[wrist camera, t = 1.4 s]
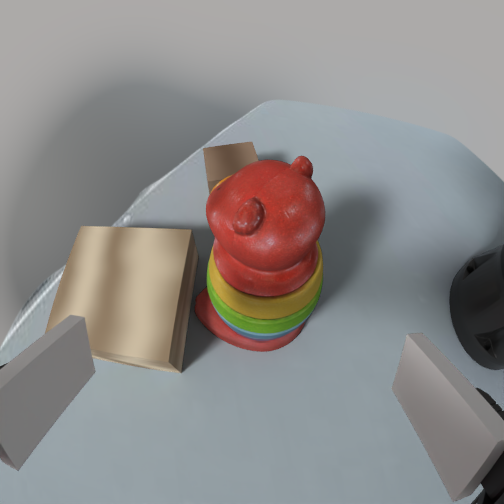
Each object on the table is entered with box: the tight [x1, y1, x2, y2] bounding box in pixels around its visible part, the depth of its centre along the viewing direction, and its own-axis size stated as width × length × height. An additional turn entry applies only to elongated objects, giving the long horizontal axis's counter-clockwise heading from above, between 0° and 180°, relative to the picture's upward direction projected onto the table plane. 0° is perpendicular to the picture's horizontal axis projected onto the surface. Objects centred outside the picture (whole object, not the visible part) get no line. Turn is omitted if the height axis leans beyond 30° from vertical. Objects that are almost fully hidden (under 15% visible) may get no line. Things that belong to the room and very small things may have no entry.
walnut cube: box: [203, 142, 259, 194], centre depth 37 cm, size 6×6×6 cm
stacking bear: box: [195, 156, 325, 352], centre depth 23 cm, size 11×10×18 cm
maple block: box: [45, 226, 199, 373], centre depth 29 cm, size 13×13×5 cm
